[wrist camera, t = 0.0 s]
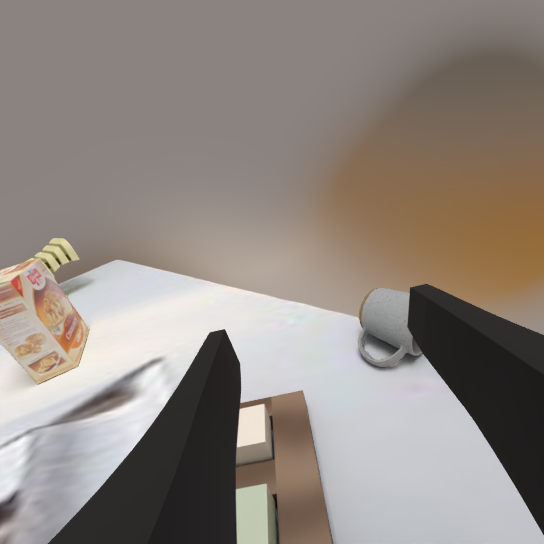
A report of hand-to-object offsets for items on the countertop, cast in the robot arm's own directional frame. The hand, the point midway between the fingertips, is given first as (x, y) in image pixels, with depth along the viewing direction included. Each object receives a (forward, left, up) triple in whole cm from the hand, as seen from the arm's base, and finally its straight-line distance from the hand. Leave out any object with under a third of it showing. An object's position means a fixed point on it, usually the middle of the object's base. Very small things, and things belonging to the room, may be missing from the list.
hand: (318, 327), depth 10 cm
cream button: (+8, +8, -20) cm, 23 cm away
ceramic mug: (+19, -12, -22) cm, 31 cm away
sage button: (+1, +8, -20) cm, 21 cm away
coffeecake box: (+35, +50, -22) cm, 65 cm away
